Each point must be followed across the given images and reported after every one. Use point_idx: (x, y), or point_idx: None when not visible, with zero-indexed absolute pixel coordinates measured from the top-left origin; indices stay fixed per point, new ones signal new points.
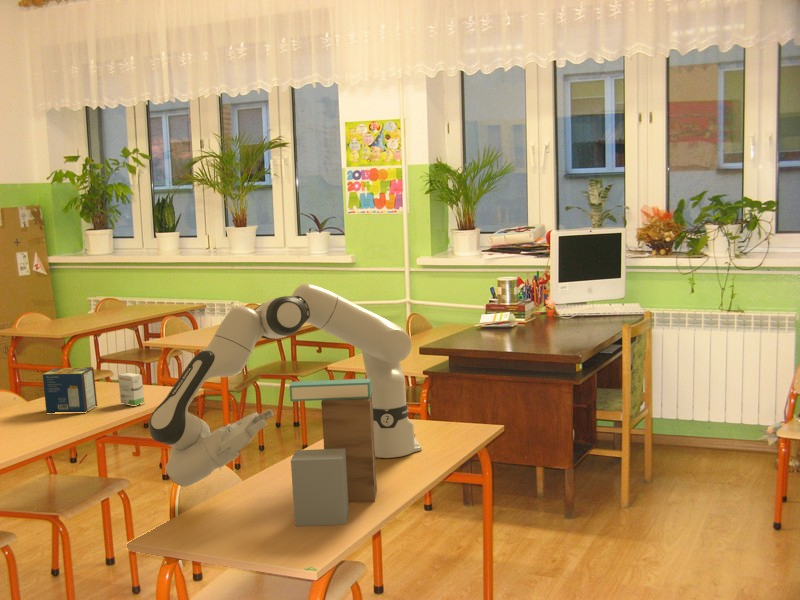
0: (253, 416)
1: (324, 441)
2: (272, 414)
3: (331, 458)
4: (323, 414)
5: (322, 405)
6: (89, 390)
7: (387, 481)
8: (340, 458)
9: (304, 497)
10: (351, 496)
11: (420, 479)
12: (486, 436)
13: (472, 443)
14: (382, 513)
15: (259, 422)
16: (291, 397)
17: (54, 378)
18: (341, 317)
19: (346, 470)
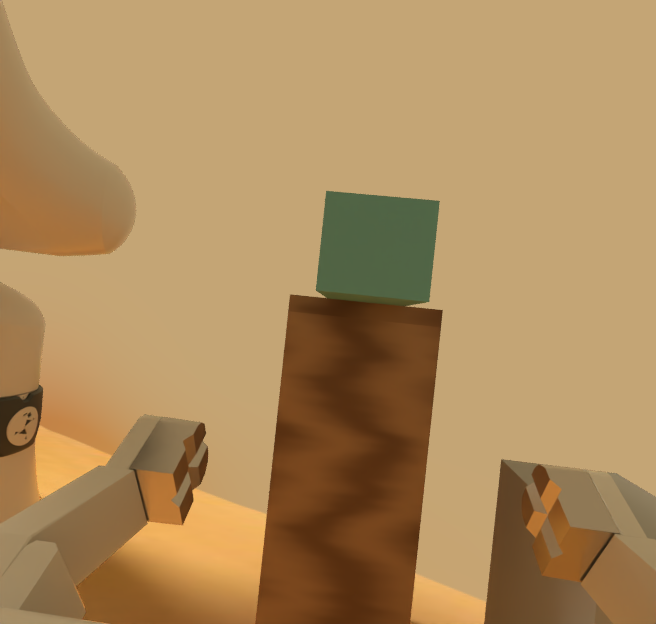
0: (16, 611)
1: (424, 479)
2: (205, 454)
3: (633, 487)
4: (435, 362)
5: (440, 323)
6: None
7: (222, 568)
8: (616, 475)
9: None
10: None
11: (240, 521)
12: (54, 433)
13: (74, 446)
14: (468, 604)
15: (627, 508)
16: (430, 277)
17: None
18: (4, 31)
19: (493, 535)
